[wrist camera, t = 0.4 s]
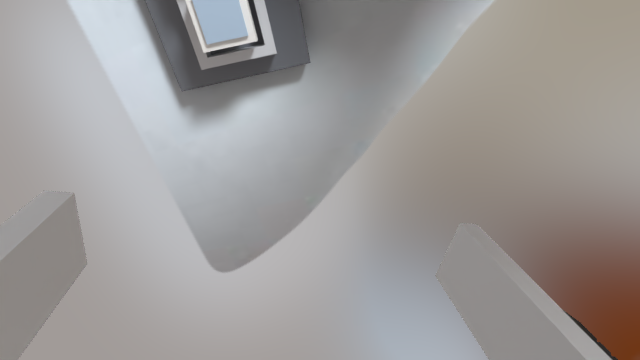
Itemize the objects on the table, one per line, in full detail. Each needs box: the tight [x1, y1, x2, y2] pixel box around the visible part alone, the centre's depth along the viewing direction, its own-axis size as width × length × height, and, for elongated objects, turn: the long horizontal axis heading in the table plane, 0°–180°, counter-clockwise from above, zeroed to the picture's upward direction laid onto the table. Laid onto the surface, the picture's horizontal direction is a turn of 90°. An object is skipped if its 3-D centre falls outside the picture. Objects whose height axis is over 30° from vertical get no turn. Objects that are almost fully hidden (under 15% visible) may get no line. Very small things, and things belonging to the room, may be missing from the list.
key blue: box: [185, 0, 258, 53], centre depth 22 cm, size 4×4×2 cm
